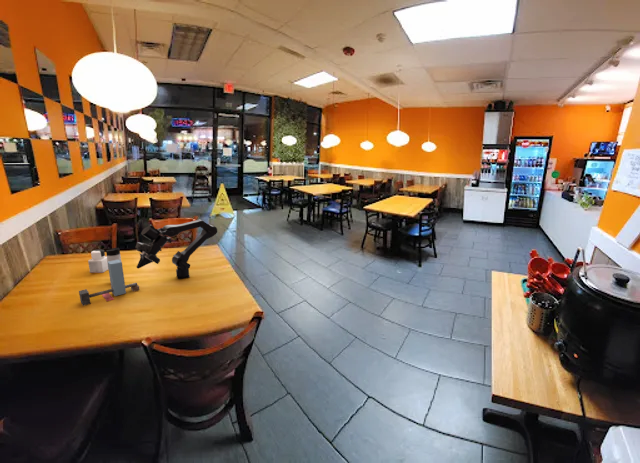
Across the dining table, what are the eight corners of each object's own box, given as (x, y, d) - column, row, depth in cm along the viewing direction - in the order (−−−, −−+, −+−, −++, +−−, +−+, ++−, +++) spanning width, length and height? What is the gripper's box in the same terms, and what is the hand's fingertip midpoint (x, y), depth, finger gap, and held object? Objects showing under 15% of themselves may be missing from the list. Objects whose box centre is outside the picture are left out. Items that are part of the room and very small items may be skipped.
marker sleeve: (123, 289, 155) (118, 259, 150) (126, 293, 151) (121, 262, 147) (112, 292, 151) (107, 261, 146) (114, 296, 148) (110, 264, 143)
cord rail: (135, 285, 161) (134, 275, 160) (141, 291, 155) (140, 281, 153) (79, 300, 143) (77, 289, 142) (84, 307, 137) (82, 296, 135)
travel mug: (117, 284, 161) (112, 250, 156) (107, 282, 163) (102, 249, 157) (127, 279, 167) (122, 247, 162) (117, 278, 169) (112, 246, 163)
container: (98, 267, 182) (95, 248, 178) (111, 267, 183) (108, 248, 179) (89, 272, 174) (86, 252, 171) (103, 272, 175) (100, 252, 172)
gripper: (139, 233, 161) (118, 255, 156) (151, 240, 149) (129, 265, 144) (155, 243, 169) (136, 265, 163) (168, 251, 157) (148, 276, 152)
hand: (137, 268), depth 155 cm, fingers closed
